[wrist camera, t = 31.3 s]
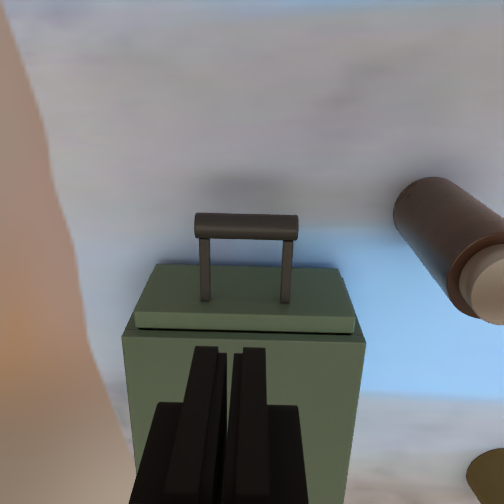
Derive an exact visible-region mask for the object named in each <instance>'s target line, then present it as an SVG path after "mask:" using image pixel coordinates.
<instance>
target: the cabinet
mask: <svg viewBox="0 0 504 504" xmlns="http://www.w3.org/2000/svg"><path fill="white" fill-rule="evenodd" d="M151 274H152V273H151ZM150 276H151V275H150ZM149 278H150V277H149ZM148 281H149V279H148ZM148 281H147V283H148ZM342 281H343V284H344V287H345V290H346V292H347V295H348V298H349V301H350V304H351V307H352V309H353V312H354V315H355V325H354V332H353V333H335V335H313V334H274V333H235V332H197V331H158V330H154V329H155V328H136V327H135V320H134V311H133V313H132V315H131V317H130V320H129V322H128V324H127V326H126V328H125V331H124V333H123V335H122V346H123V355H124V364H125V373H126V383H127V392H128V401H129V410H130V420H131V429H132V438H133V447H134V457H135V466H136V475H137V472H138V469H139V465H140V462H141V458H142V455H143V451H144V448H145V444H146V441H147V437H148V434H149V430H150V427H151V423H152V420H153V416H154V413H155V409H156V406H157V404H158V403H159V402H183V400H184V396H185V391H186V386H187V381H188V377H189V372H190V367H191V363H192V358H193V353H194V349H195V346H218V348H219V353H227V431H228V419H229V407H230V395H231V382H232V370H233V358H234V353H243V347H261V348H266V387H267V405H297V406H298V410H299V418H300V427H301V436H302V445H303V455H304V464H305V473H306V482H307V491H308V501H309V504H343V502H344V495H345V489H346V482H347V475H348V468H349V461H350V454H351V447H352V440H353V433H354V426H355V419H356V412H357V405H358V398H359V391H360V384H361V377H362V370H363V363H364V356H365V349H366V341H365V338H364V336H363V333H362V330H361V327H360V324H359V322H358V319H357V316H356V313H355V311H354V308H353V305H352V302H351V299H350V297H349V294H348V291H347V288H346V286H345V282H344V280H343V278H342ZM146 285H147V284H146ZM145 287H146V286H145ZM144 289H145V288H144ZM143 291H144V290H143ZM142 293H143V292H142ZM141 296H142V294H141ZM141 296H140V298H141ZM140 298H139V300H140ZM138 302H139V301H138ZM137 304H138V303H137ZM136 306H137V305H136ZM135 308H136V307H135ZM134 310H135V309H134ZM222 504H223V503H222Z"/></svg>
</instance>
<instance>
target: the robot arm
mask: <svg viewBox="0 0 504 504" xmlns="http://www.w3.org/2000/svg"><path fill="white" fill-rule="evenodd" d="M222 503H223V504H309V501H308V491H307V482H306V473H305V464H304V455H303V445H302V436H301V427H300V418H299V410H298V406H297V405H267V387H266V348H261V347H243V353H234V358H233V370H232V382H231V395H230V407H229V419H228V431H227V353H219V348H218V346H195V349H194V353H193V358H192V363H191V367H190V372H189V377H188V381H187V386H186V391H185V396H184V400H183V402H159V403H158V404H157V406H156V409H155V413H154V416H153V420H152V423H151V427H150V430H149V434H148V437H147V441H146V444H145V448H144V451H143V455H142V458H141V462H140V465H139V469H138V472H137V476H136V479H135V483H134V487H133V490H132V493H131V497H130V500H129V504H222Z"/></svg>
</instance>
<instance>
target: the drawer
mask: <svg viewBox="0 0 504 504" xmlns="http://www.w3.org/2000/svg"><path fill="white" fill-rule="evenodd" d="M194 232H195V237H196V238H199V256H200V265H177V264H156V266H155V268H154V270H153V272H152V274H151V276H150V278H149V281H148V283H147V285H146V287H145V289H144V291H143V293H142V296H141V298H140V300H139V302H138V304H137V306H136V308H135V310H134V320H135V327H136V328H155V329H154V330H158V331H197V332H235V333H274V334H313V335H335V333H353V332H354V325H355V315H354V312H353V309H352V307H351V304H350V301H349V298H348V295H347V292H346V290H345V287H344V284H343V281H342V278H341V275H340V273H339V270H338V269H336V268H296V267H292V257H293V240H294V241H296V240H297V238H298V216H297V215H270V214H230V213H196V215H195V222H194ZM210 238H213V239H253V240H283V247H282V267H256V266H217V265H210Z"/></svg>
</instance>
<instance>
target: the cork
mask: <svg viewBox="0 0 504 504" xmlns="http://www.w3.org/2000/svg"><path fill="white" fill-rule="evenodd" d="M466 478H467V482H468V484H469V486H470V487H471V489H472V490H473V492H474V493H475V495H476V496H477V498H478V500H479V501H480V503H481V504H504V449H496V450H492V451H488V452H486V453H484V454H482V455H480V456H479V457H478V458H477V459H475V460H474V461H473V462H472V463H471V465H470V466H469V468H468V470H467V475H466Z"/></svg>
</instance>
